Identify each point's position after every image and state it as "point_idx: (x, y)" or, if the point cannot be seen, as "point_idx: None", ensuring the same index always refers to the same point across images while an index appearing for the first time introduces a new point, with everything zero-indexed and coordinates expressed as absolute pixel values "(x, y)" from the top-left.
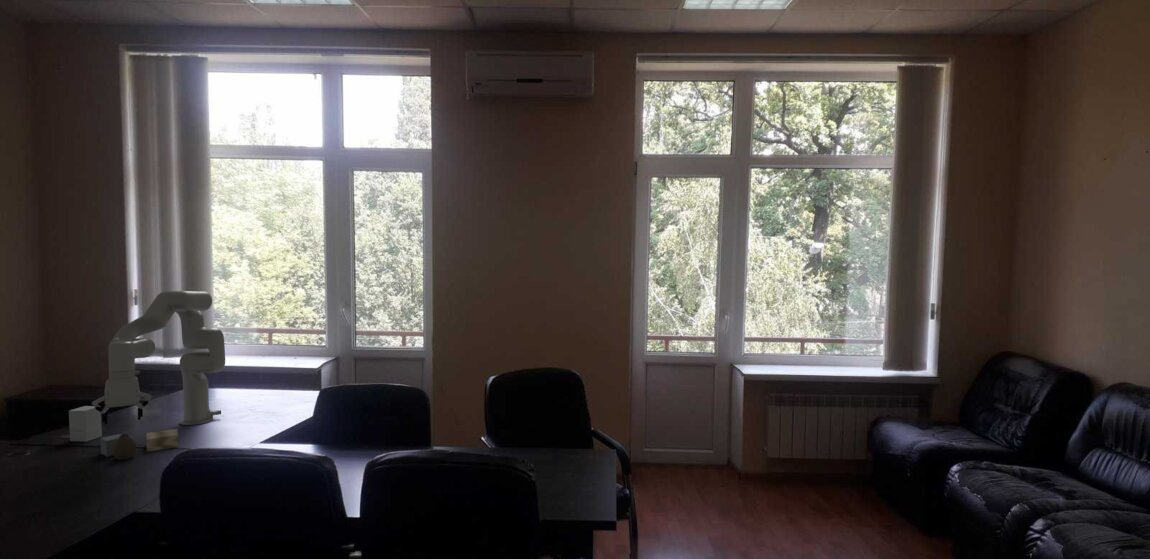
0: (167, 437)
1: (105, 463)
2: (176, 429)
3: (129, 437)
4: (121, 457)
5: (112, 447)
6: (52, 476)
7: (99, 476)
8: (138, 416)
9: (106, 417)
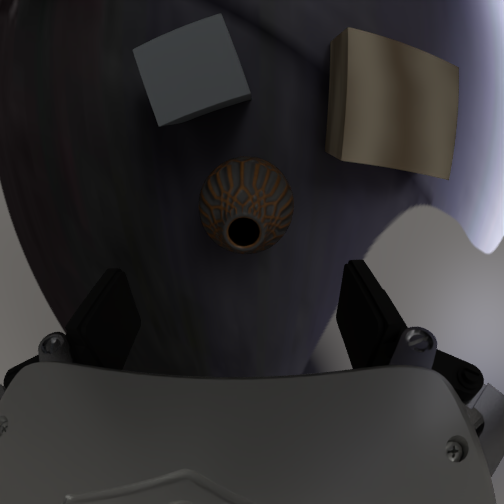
0: (416, 172)
1: (187, 218)
2: (456, 79)
3: (269, 236)
4: (236, 226)
5: (195, 115)
6: (79, 260)
7: (192, 331)
8: (343, 337)
9: (121, 361)
